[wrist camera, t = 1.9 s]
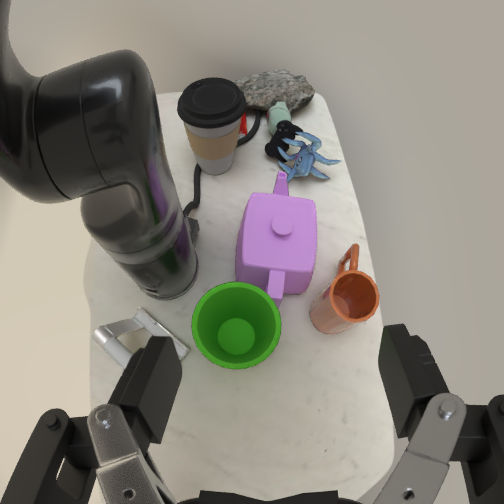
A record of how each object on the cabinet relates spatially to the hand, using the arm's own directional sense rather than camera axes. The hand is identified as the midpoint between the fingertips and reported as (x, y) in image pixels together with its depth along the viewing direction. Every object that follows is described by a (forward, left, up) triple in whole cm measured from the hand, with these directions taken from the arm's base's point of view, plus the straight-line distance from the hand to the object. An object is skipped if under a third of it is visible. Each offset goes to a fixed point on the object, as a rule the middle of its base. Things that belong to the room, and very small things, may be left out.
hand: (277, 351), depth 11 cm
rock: (-49, -9, -32) cm, 59 cm away
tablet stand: (+1, -13, -31) cm, 34 cm away
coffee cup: (-30, -13, -31) cm, 45 cm away
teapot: (-17, 0, -31) cm, 35 cm away
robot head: (-39, -4, -31) cm, 50 cm away
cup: (-4, -2, -31) cm, 31 cm away
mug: (-12, +10, -31) cm, 34 cm away
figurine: (-35, +2, -27) cm, 44 cm away
